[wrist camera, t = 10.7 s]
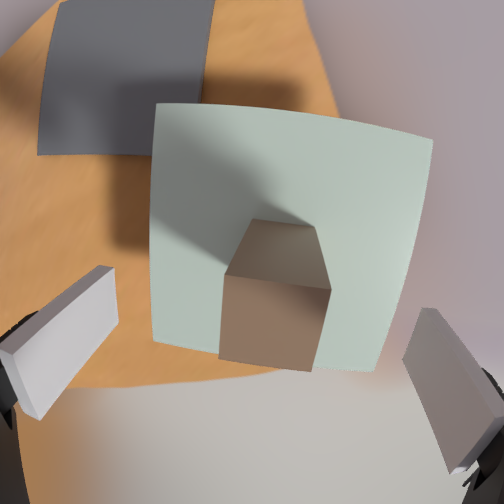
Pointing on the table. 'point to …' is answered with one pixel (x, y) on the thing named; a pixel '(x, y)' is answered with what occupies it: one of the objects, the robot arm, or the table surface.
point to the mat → (119, 72)
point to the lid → (280, 233)
